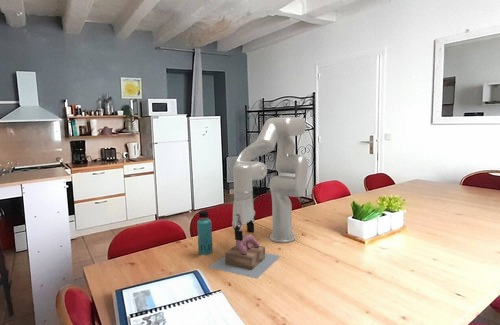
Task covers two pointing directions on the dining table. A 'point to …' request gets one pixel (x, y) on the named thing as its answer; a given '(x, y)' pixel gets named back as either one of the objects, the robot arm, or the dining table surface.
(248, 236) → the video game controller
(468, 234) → the dining table surface
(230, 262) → the walnut block
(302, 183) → the robot arm
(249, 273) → the base plate
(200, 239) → the beverage bottle
